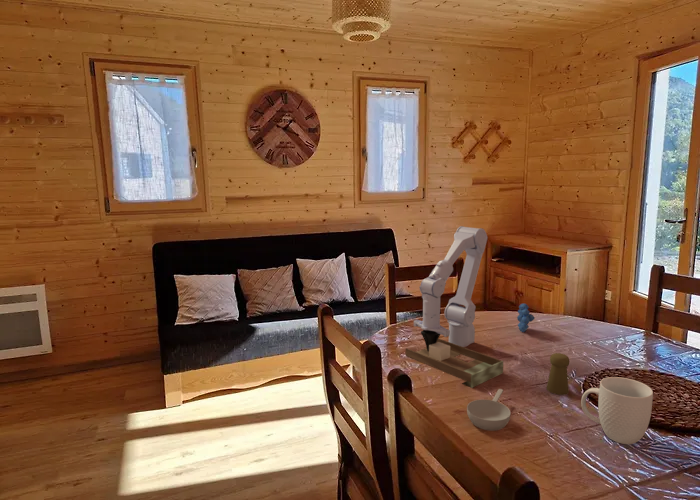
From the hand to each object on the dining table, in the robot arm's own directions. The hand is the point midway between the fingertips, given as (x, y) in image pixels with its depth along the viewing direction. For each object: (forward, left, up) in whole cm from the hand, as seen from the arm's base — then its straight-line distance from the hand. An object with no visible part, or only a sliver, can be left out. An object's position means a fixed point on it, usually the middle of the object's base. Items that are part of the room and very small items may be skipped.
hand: (430, 350), depth 162 cm
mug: (+2, +61, -3) cm, 61 cm away
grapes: (-48, +7, -3) cm, 49 cm away
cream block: (0, +4, -1) cm, 4 cm away
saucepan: (+17, +36, -3) cm, 40 cm away
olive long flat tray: (0, +9, -2) cm, 10 cm away
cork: (-10, +40, -3) cm, 42 cm away
